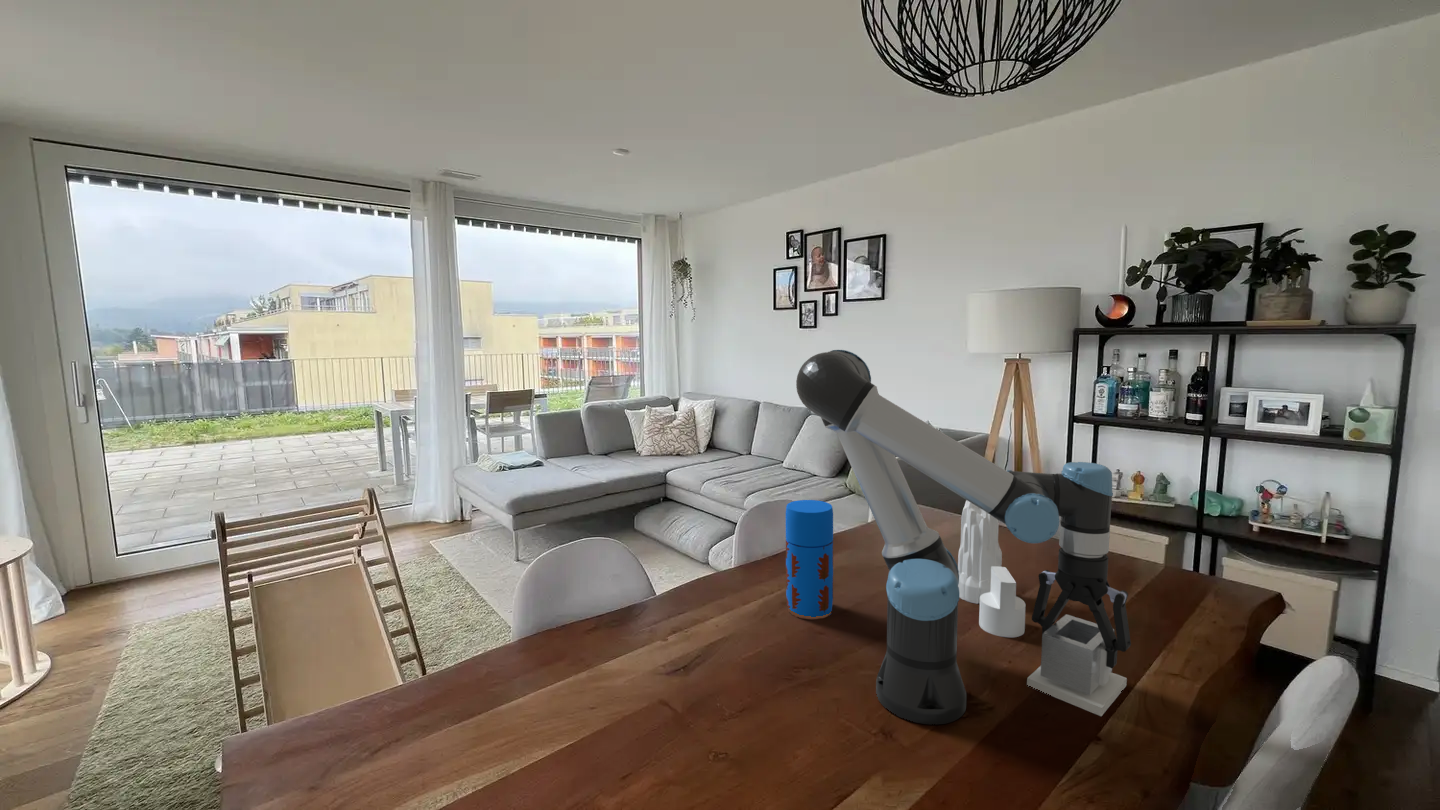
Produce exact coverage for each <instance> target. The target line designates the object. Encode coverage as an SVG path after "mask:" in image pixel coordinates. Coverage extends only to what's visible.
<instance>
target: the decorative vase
mask: <svg viewBox="0 0 1440 810" xmlns="http://www.w3.org/2000/svg"><path fill="white" fill-rule="evenodd" d="M960 520H961V521H960V522H961V523H960V546H959V549H958V557H957V566H958V570H959V573H958V574H959V584H958V587H959V593H960V595H959V599H961V600H964V601H965V602H968V603H972V604H976V605H978V604H979V605H980V596H981V595H982V594H984V593H988V592H990V589H991V567H992V566H999V567H1002V563H1003V561H1002V560H1003V558H1002V557H1003V553H1002V549H1001V547H1000V543H999V526H1000V525H999V522H1000V521H999V520H997V519H996V518H994V517H993V516H991V515H990V514H988V513H987V512H985V511H984V510H982V509H980V508H979V507H977V506H975V505H974V504H972V503H971V502H969V501H967V500H966V499H965V503H964V507H963V509H962V513H961V518H960Z"/></svg>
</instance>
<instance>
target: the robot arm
mask: <svg viewBox="0 0 1440 810" xmlns="http://www.w3.org/2000/svg"><path fill="white" fill-rule="evenodd" d="M796 392H797V395H798V398H799V400H800V401H801V403H802V404H803V406H805V408H807V410H809V411H810V412H812V413H813V414H815V415H817V416H818V417H820V418H821V420H822V423H823V425H824V427H825V428H826V429H828V430H831V431H833V432H835V433H836V435H837V438H838V440H839V442H840V444H841V446H842V449H843V451H844V453H845V455H846V458H847V460H848V462H849V464H850V467H851V468H852V472H853V473H854V475H855V477H856V480H857V483H858V485H859V486H860V489H861V491H862V493H863V497H864V498H865V500H866V503H867V505H868V508H869V509H870V512H871V514H872V516H873V518H874V521H875V523H876V525H877V527H878V529H879V531H880V534H881V536H882V538H883V540H884V546H883V549H882V551H881V555H882V557H883V560H884V561H885V564H886V567H887V568H888V574H887V575H888V576H887V581H886V585H885V588H886V589H885V590H886V595H887V608H886V609H887V610H886V611H887V612H886V615H887V616H886V617H887V618H886V651H885V655H884V658H883V660H882V663H881V665H880V668H879V671H878V673H877V676H876V681H875V694H877V695H876V697H878V698H877V700H878V701H879V703H880V704H881V705H882V707H884V708H885V709H886V708H887V709H888V710H889V711H888V710H887V709H886V710H887V711H888V712H890V711H891V712H892V714H893V713H894V714H893V715H895V714H896V715H895V716H897V717H899V718H901V719H903V718H904V720H906V719H907V720H906V721H909V720H910V722H912V721H913V722H912V723H917V724H922V725H932V724H933V725H934V724H935V725H945V724H949V723H953V722H955V721H957V720H959V719H960V718H961V717H962V716H963V715H964V714H965V712H966V709H967V691H966V688H965V685H964V682H963V679H962V675H961V672H960V668H959V666H958V661H957V656H958V654H957V653H958V652H957V650H958V621H959V619H958V616H959V601H960V598H959V595H960V593H959V587H958V584H959V574H958V573H959V570H958V562H957V561H956V560H955V558H954V556H953V555H952V553H951V552H950V550H948V548H947V547H946V546H945V544H944V541H943V540H942V537H941V535H940V534H939V532H938V530H934V529H933V528H929V527H928V526H927V523H926V521H925V520H924V517H923V514H922V513H921V511H920V508H919V506H918V504H917V501H916V500H915V499H916V498H915V497H914V495H913V493H912V490H911V489H910V486H909V484H908V481H907V479H906V477H905V475H904V473H903V470H902V469H901V466H900V464H899V462H898V459H900V460H901V461H903V462H905V463H906V464H908V465H909V466H911V467H913V468H914V469H916V470H917V471H919V472H920V473H923V474H924V475H925V476H927V477H929V478H931V479H932V480H933V481H935V482H936V483H938V484H940V485H942V486H943V487H944V488H946V489H948V490H950V491H951V492H953V493H955V494H956V495H958V496H959V497H961V498H963V499H964V500H965V501H966V500H967V501H969V502H971V503H972V504H974V505H975V506H977V507H979V508H980V509H982V510H984V511H985V512H987V513H988V514H990V515H991V516H993V517H994V518H996V519H997V520H999V522H1000V523H1002V524H1004V525H1005V526H1006V528H1007V529H1008V531H1010V533H1011V534H1012V535H1013V536H1014V537H1015V538H1016V539H1018V540H1020V541H1022V542H1025V543H1027V544H1041V543H1045V542H1046V541H1049V540H1050V539H1051V538H1053V537H1054V536H1055V535H1056V534H1057V532H1058V530H1059V538H1058V539H1059V540H1058V545H1059V546H1060V548H1059V549H1058V557H1057V559H1058V560H1057V561H1058V563H1057V571H1056V572H1052V571H1050V570H1048V569H1045V570H1043V571H1042V572H1040V573H1039V574H1038V583H1039V587H1038V591H1037V595H1036V599H1035V603H1034V606H1033V607H1034V608H1033V611H1032V616H1031V621H1032V622H1034V623H1037V624H1038V625H1040V626H1041V628H1042V631H1041V635H1042V634H1043V633H1044V632H1045V631H1046V630H1047V629H1049V628H1050V627H1051V626H1052V625H1054V624H1055V623H1056V622H1057V619H1058V617H1060V615H1061V613H1062V611H1063V610H1064V608H1065V606H1066V605H1067V603H1068V602H1069V601H1071V602H1072V601H1073V602H1079V603H1081V604H1082V605H1085V606H1086V605H1087V607H1088V608H1089V611H1090V612H1092V616H1093V617H1094V620H1095V622H1096V624H1097V626H1098V628H1099V631H1100V633H1101V636H1102V638H1103V641H1104V643H1105V646H1104V647H1103V648H1102V649H1101V660H1100V676H1099V684H1100V685H1103V686H1104V685H1105V684H1106V683H1107V682H1108V681H1109V672H1110V668H1112V669H1113V668H1115V666H1116V665H1117V663H1118V662H1117V661H1118V651H1121V652H1122V653H1123V652H1124V653H1125V652H1127V650H1128V649H1130V647H1131V645H1132V643H1131V635H1130V628H1129V620H1128V613H1127V606H1126V603H1127V599H1128V597H1129V593H1128V592H1127V590H1119V589H1115V588H1113V587H1111V585H1110V584H1109V581H1108V574H1109V573H1108V571H1109V556H1108V553H1109V552H1110V551H1109V550H1110V537H1111V529H1110V528H1111V515H1112V505H1113V504H1112V503H1113V496H1114V493H1113V472H1112V471H1111V469H1109V467H1107V466H1106V465H1103V464H1099V463H1095V462H1086V461H1077V462H1072V461H1070V462H1066V463H1065V464H1063V466H1062V470H1061V472H1060V473H1042V472H1031V471H1030V472H1029V471H1017V470H1012V469H1010V470H1009V469H1007V470H1006V469H1004V468H1003V467H1001V466H999V465H997V464H995V463H994V462H992V461H991V460H989V459H988V458H986V457H984V456H982V455H981V454H979V453H977V452H976V451H974V450H972V449H971V448H969V447H967V446H966V445H964V444H962V443H960V442H958V440H956V439H954V438H952V437H951V436H949V435H947V434H945V433H944V432H942V431H941V430H938V429H937V428H935V427H934V426H932V425H930V424H929V423H927V422H925V421H923V420H922V419H921V418H919V417H917V416H916V415H914V414H912V413H910V412H909V411H907V410H906V409H904V408H903V407H900V406H898V405H897V404H895V403H894V402H892V401H890V400H889V399H887V398H885V397H883V396H882V395H880V394H879V391H878V386H876V385H875V384H873V383H872V375H871V372H870V369H869V366H868V365H867V363H866V362H865V361H864V360H863V359H862V358H861V357H860V356H859V355H858V354H856V353H854V352H851V351H849V350H844V349H834V350H833V349H832V350H830V351H826V352H819V353H817V354H814V355H812V356H811V357H810V358H808V359H807V360H805V362H804V363H803V364H802V365H801V366H800V368H799V370H798V373H797V376H796ZM897 458H898V459H897ZM1055 581H1056V583H1057V584H1058V585H1059V588H1060V589H1061V590H1062V591H1061V592H1060V593H1059V595H1058V597H1057V599H1056V601H1055V602H1054V604H1053V605H1052V607H1051V609H1050V610H1049V612H1048V614H1047V615H1046V616H1045V612H1046V609H1047V605H1048V601H1049V597H1050V594H1051V589H1052V584H1054V583H1055ZM1105 595H1108V596H1109V599H1110V602H1111V603H1113V604H1112V613H1113V618H1114V626H1115V627H1114V628H1115V630H1113V629H1114V628H1113V625H1112V623H1111V621H1110V619H1109V616H1108V613H1107V611H1106V608H1105V603H1104V600H1103V597H1104V596H1105ZM891 712H890V713H891Z"/></svg>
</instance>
